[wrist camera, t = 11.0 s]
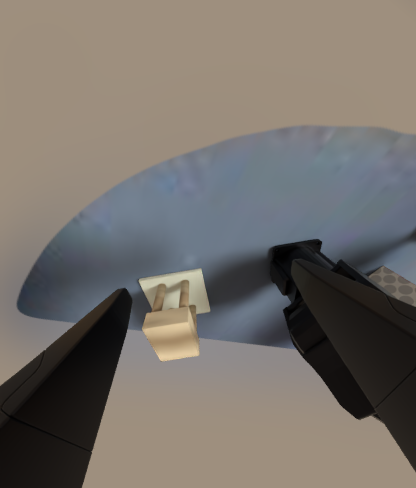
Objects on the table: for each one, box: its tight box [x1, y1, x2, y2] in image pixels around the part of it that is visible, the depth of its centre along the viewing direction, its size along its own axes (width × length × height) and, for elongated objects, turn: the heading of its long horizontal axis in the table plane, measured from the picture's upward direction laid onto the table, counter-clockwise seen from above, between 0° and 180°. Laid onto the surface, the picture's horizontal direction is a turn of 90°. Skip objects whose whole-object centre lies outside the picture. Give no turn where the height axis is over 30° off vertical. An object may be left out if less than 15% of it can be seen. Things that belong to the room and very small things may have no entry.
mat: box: [139, 268, 210, 314], centre depth 26 cm, size 9×9×1 cm
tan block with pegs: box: [142, 280, 199, 362], centre depth 22 cm, size 7×5×7 cm
